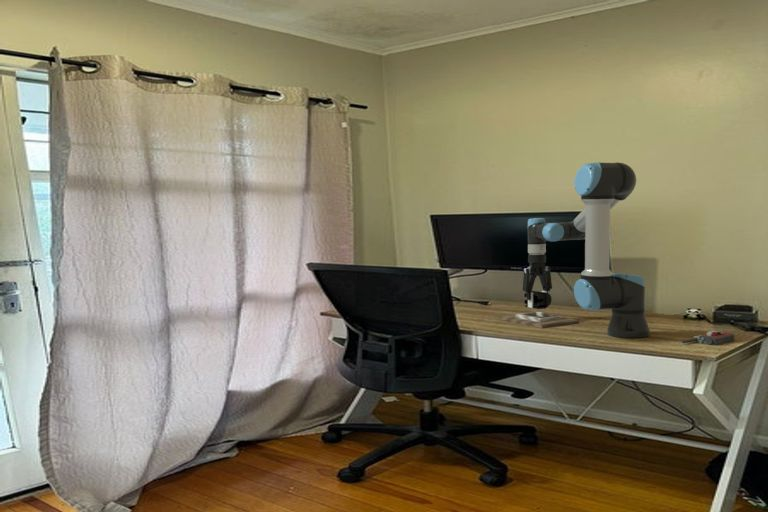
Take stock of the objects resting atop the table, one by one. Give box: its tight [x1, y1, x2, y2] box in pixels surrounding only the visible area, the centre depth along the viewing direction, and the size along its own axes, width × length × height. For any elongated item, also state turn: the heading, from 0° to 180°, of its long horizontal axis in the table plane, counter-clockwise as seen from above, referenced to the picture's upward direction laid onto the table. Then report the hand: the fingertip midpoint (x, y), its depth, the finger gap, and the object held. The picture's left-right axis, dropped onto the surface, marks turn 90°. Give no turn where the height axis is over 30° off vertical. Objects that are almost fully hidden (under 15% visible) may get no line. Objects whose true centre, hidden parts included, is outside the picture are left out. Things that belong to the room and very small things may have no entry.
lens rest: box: [499, 311, 580, 329], centre depth 284 cm, size 28×20×3 cm
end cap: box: [523, 290, 553, 310], centre depth 284 cm, size 10×7×7 cm
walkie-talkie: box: [681, 329, 735, 346], centre depth 229 cm, size 9×4×20 cm
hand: (537, 306), depth 284 cm, fingers closed on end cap, 7 cm apart
